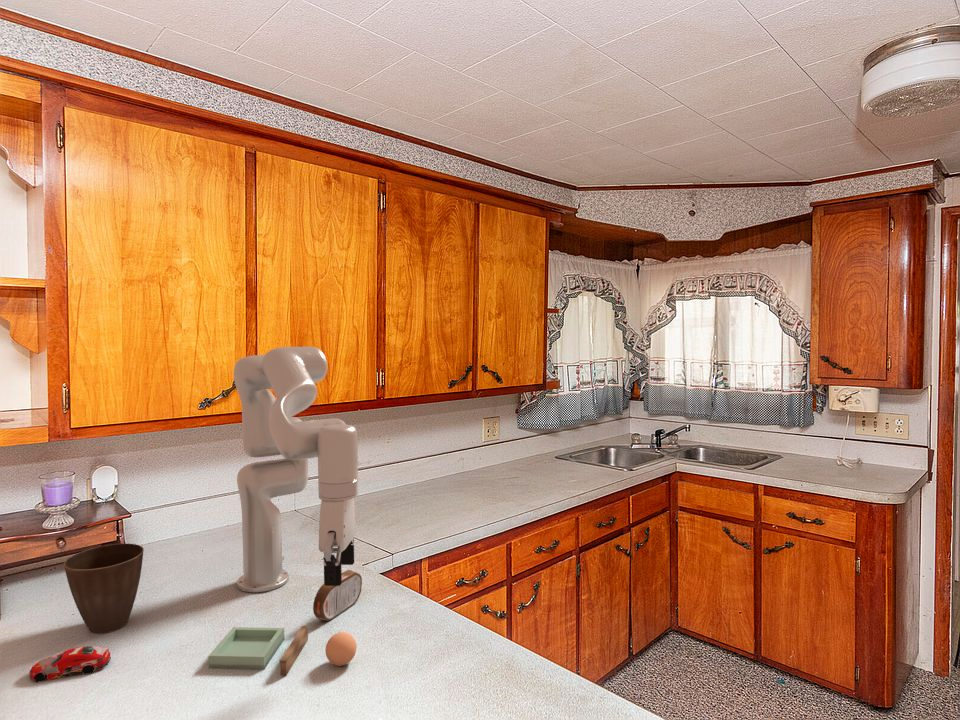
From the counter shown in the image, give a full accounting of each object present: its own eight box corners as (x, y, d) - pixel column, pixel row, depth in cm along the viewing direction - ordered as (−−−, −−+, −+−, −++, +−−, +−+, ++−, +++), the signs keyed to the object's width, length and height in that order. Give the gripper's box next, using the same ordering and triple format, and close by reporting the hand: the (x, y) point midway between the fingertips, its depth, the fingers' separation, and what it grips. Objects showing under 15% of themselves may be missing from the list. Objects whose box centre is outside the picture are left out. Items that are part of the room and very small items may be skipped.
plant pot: (65, 650, 123) (61, 575, 122) (69, 620, 136) (65, 551, 135) (148, 631, 131) (145, 559, 130) (144, 603, 144) (141, 538, 143)
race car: (24, 686, 112) (23, 665, 111) (36, 670, 117) (35, 650, 117) (105, 673, 116) (104, 653, 115) (113, 658, 121) (112, 639, 121)
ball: (330, 654, 122) (330, 626, 121) (359, 655, 121) (359, 626, 121) (321, 671, 116) (321, 641, 115) (352, 672, 115) (352, 642, 115)
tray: (233, 638, 128) (233, 627, 128) (284, 639, 127) (284, 627, 127) (208, 668, 117) (208, 655, 117) (264, 669, 117) (263, 656, 116)
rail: (302, 639, 127) (302, 626, 127) (308, 639, 127) (307, 626, 127) (280, 675, 114) (279, 660, 114) (286, 675, 114) (286, 660, 114)
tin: (354, 597, 147) (353, 563, 147) (364, 599, 146) (364, 566, 145) (312, 625, 134) (311, 588, 133) (323, 628, 132) (322, 591, 132)
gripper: (331, 477, 125) (333, 556, 126) (304, 501, 108) (306, 594, 109) (367, 477, 125) (368, 557, 126) (346, 501, 108) (347, 594, 109)
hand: (339, 574), depth 117 cm, fingers open, 9 cm apart
